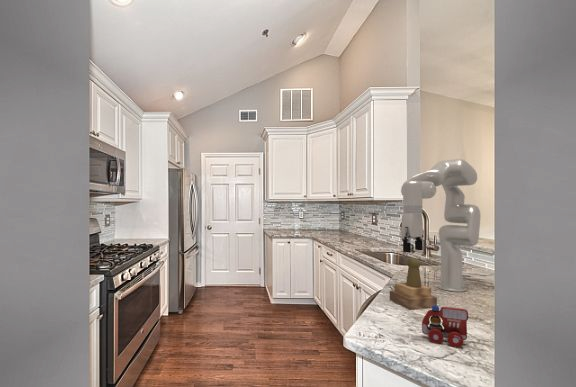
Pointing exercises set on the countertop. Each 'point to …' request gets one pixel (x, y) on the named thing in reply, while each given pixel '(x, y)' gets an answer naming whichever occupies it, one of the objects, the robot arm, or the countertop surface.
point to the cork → (413, 273)
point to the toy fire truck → (446, 325)
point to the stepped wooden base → (412, 297)
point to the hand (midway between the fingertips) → (413, 251)
